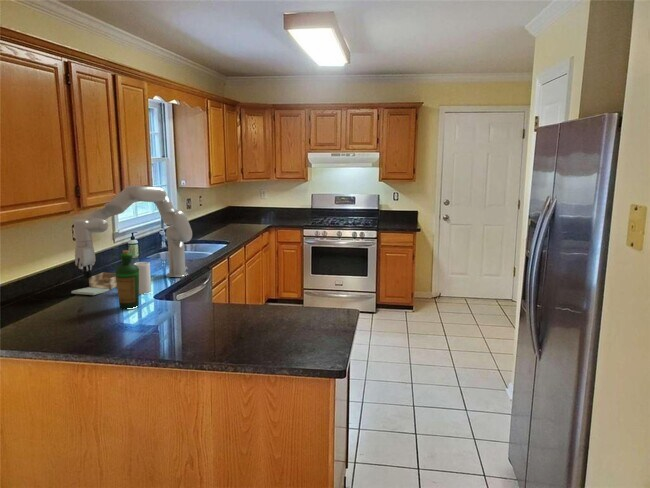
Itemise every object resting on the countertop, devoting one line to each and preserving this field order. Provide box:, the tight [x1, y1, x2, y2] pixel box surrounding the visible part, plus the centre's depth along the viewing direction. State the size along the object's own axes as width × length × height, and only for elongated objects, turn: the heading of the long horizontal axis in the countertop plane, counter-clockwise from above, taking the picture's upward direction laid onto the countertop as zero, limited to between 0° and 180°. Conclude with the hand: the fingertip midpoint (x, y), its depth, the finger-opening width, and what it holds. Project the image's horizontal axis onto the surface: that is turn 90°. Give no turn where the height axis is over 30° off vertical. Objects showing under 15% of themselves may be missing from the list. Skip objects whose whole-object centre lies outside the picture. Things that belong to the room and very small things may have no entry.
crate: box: [88, 272, 117, 290], centre depth 256 cm, size 12×13×6 cm
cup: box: [133, 261, 152, 295], centre depth 246 cm, size 8×8×16 cm
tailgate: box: [70, 286, 111, 296], centre depth 243 cm, size 1×13×14 cm
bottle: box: [114, 249, 140, 310], centre depth 219 cm, size 11×11×28 cm
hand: (87, 277), depth 240 cm, fingers closed
